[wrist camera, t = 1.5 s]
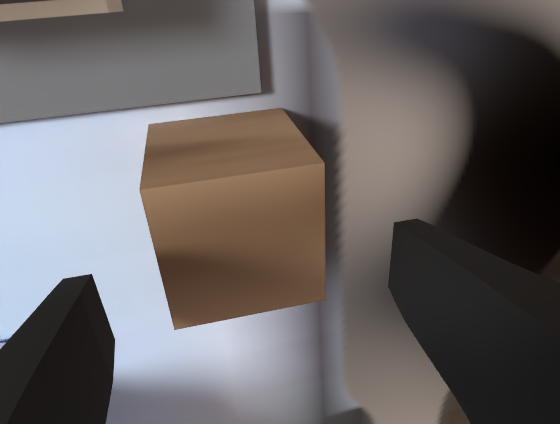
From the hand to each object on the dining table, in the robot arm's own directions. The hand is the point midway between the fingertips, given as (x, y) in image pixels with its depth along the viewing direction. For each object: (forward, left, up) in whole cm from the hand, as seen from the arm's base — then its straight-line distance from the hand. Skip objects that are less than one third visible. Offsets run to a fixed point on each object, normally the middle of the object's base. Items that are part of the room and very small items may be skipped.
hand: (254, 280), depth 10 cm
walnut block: (0, 0, -6) cm, 6 cm away
